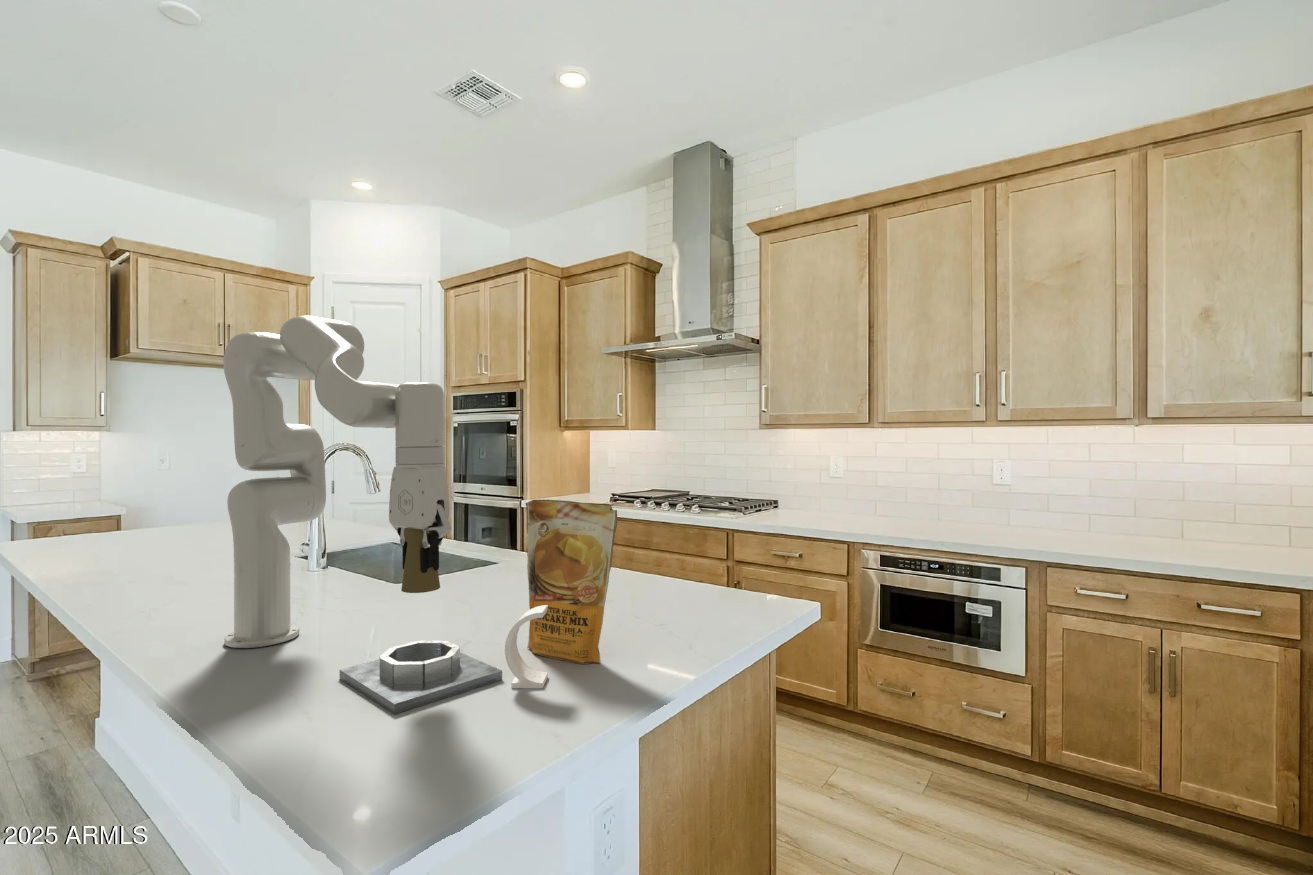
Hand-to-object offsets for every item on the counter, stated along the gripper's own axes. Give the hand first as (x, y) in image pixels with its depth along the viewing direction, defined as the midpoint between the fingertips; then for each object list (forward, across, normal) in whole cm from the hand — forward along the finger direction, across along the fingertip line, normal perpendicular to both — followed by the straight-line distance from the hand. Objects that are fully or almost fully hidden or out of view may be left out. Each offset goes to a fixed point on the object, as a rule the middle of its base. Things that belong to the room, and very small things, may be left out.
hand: (420, 568), depth 106 cm
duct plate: (+18, 0, 0) cm, 18 cm away
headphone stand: (+18, +16, +8) cm, 26 cm away
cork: (+3, 0, 0) cm, 3 cm away
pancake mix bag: (+18, +12, +22) cm, 31 cm away
